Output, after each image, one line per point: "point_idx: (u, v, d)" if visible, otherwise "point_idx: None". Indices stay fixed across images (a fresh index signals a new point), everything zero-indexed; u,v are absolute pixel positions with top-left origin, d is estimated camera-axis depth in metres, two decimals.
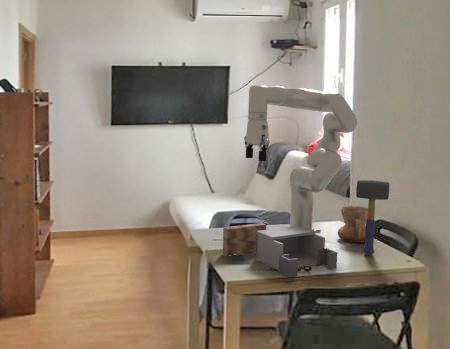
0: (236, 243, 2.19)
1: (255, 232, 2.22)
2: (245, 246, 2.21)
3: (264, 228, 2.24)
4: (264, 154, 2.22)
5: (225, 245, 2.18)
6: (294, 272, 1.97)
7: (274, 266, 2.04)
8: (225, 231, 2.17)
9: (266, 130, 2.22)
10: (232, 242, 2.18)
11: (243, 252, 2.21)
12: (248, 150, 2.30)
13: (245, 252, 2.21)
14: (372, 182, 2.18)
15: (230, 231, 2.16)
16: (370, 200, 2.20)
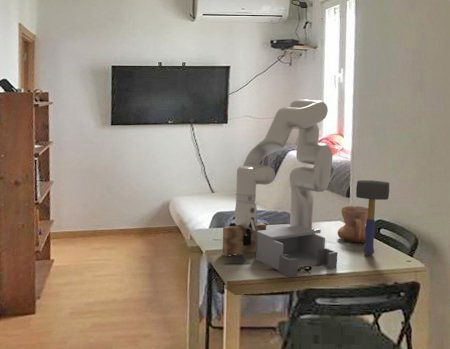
0: (235, 243, 2.19)
1: (255, 231, 2.22)
2: None
3: (264, 228, 2.24)
4: (249, 239, 2.20)
5: (225, 245, 2.17)
6: (294, 272, 1.97)
7: (274, 266, 2.04)
8: (225, 231, 2.17)
9: (255, 213, 2.17)
10: (232, 241, 2.18)
11: (243, 252, 2.21)
12: None
13: (245, 252, 2.21)
14: (372, 182, 2.18)
15: (230, 231, 2.16)
16: (370, 200, 2.20)
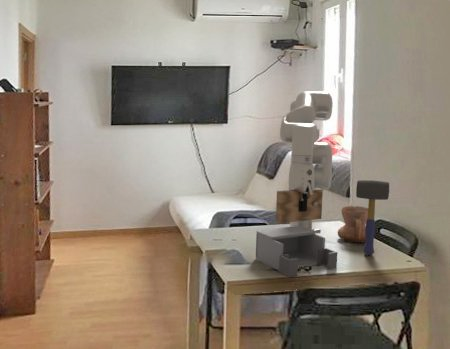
0: (290, 209, 1.99)
1: (311, 197, 2.03)
2: (300, 212, 2.02)
3: (320, 193, 2.05)
4: (305, 204, 2.01)
5: (279, 210, 1.98)
6: (294, 272, 1.97)
7: (274, 266, 2.04)
8: (279, 195, 1.98)
9: (312, 175, 1.98)
10: (287, 207, 1.99)
11: (298, 219, 2.02)
12: None
13: (300, 219, 2.02)
14: (372, 182, 2.18)
15: (284, 195, 1.97)
16: (370, 200, 2.20)
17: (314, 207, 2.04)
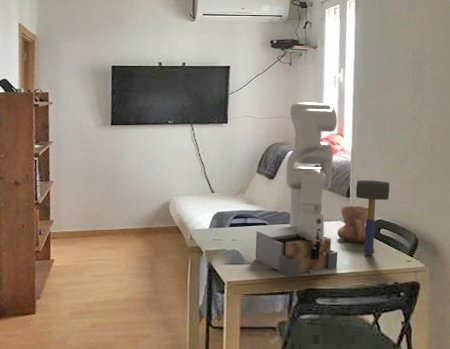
0: (299, 260, 1.99)
1: None
2: (308, 262, 2.02)
3: (328, 243, 2.05)
4: (317, 252, 1.99)
5: None
6: (294, 272, 1.97)
7: (274, 266, 2.04)
8: (288, 246, 1.98)
9: (321, 224, 1.97)
10: None
11: (307, 269, 2.02)
12: None
13: (309, 269, 2.02)
14: (372, 182, 2.18)
15: (294, 246, 1.97)
16: (370, 200, 2.20)
17: (322, 257, 2.05)
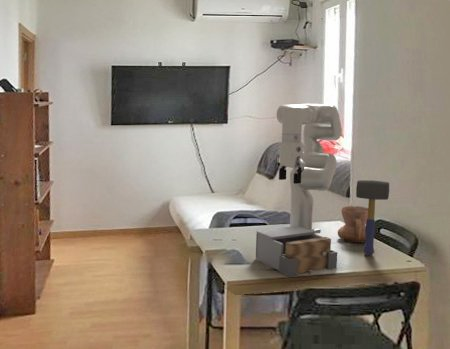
0: (299, 260, 1.99)
1: (319, 247, 2.03)
2: (308, 262, 2.02)
3: (329, 243, 2.05)
4: (299, 176, 2.18)
5: None
6: (294, 272, 1.97)
7: (274, 266, 2.04)
8: (288, 246, 1.98)
9: (301, 152, 2.17)
10: None
11: (307, 269, 2.02)
12: (281, 172, 2.26)
13: (309, 269, 2.02)
14: (372, 182, 2.18)
15: (294, 246, 1.97)
16: (370, 200, 2.20)
17: (322, 257, 2.05)
